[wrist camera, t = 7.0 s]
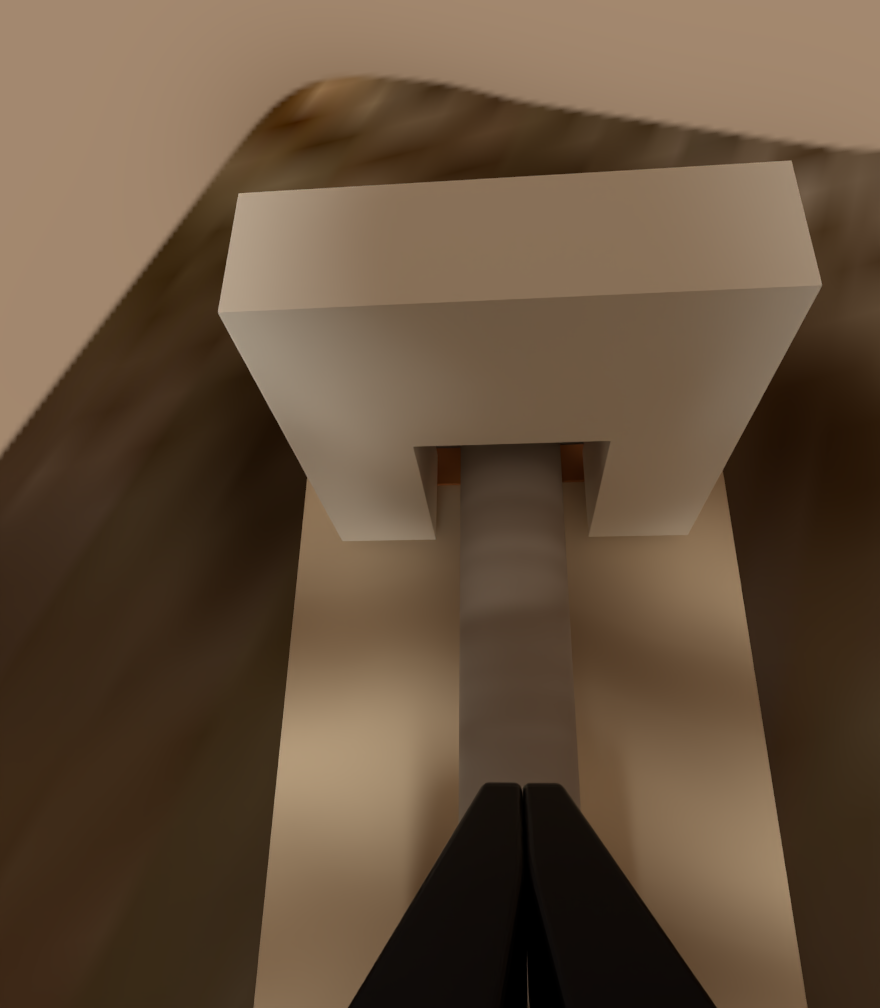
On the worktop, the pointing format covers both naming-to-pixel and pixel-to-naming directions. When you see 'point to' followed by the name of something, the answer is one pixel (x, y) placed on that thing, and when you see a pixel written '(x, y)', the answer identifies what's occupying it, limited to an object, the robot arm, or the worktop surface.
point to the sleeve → (520, 330)
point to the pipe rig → (522, 723)
